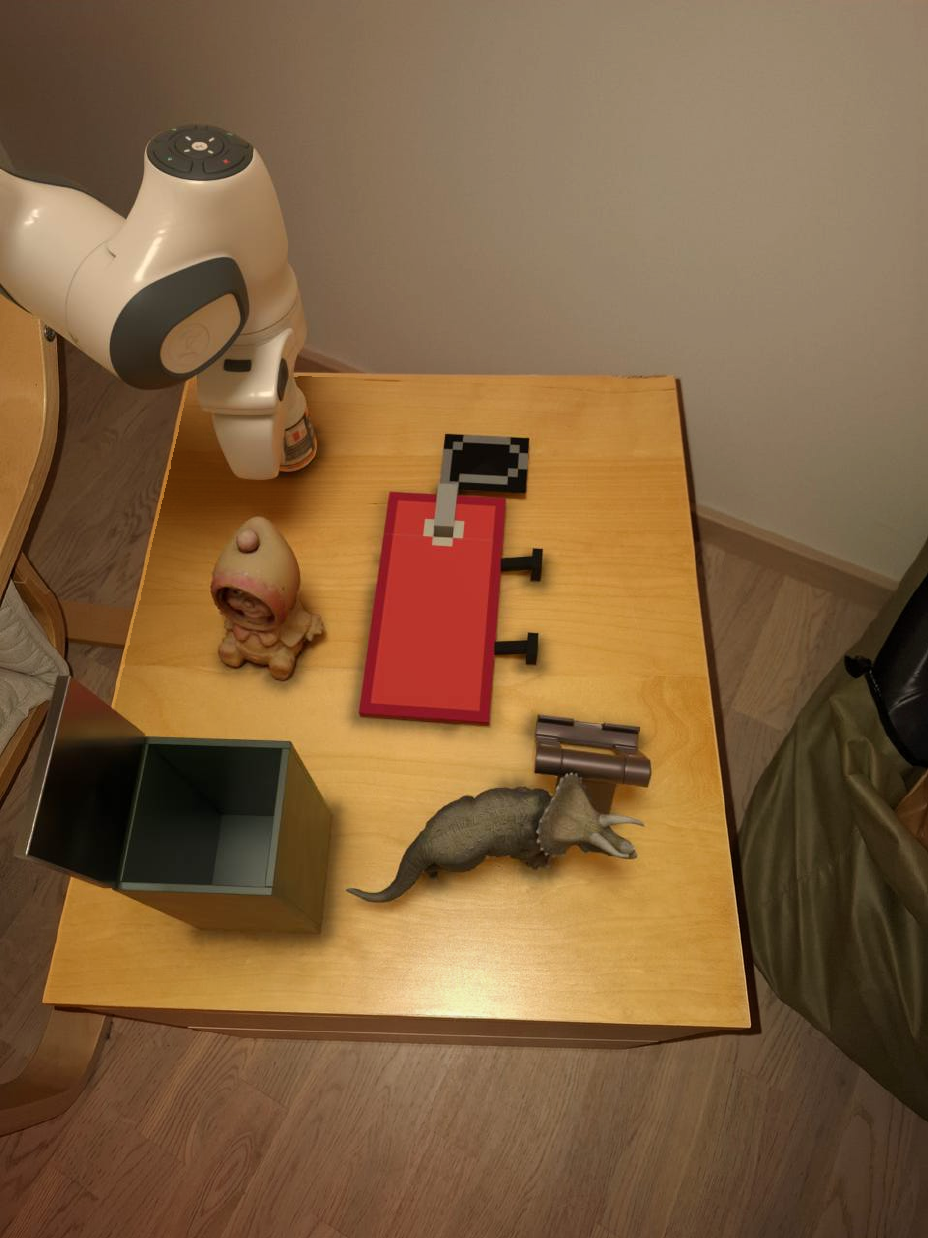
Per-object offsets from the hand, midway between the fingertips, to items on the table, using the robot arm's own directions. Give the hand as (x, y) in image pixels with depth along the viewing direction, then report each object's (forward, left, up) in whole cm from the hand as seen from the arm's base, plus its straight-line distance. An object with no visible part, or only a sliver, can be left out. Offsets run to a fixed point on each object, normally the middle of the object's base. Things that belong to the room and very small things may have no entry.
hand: (282, 424), depth 87 cm
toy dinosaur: (-6, -43, -4) cm, 44 cm away
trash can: (-22, -35, -4) cm, 42 cm away
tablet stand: (+4, -43, -4) cm, 43 cm away
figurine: (-11, -16, -4) cm, 20 cm away
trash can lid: (-26, -32, +21) cm, 46 cm away
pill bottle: (0, 0, -4) cm, 4 cm away
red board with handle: (+6, -21, -4) cm, 23 cm away
